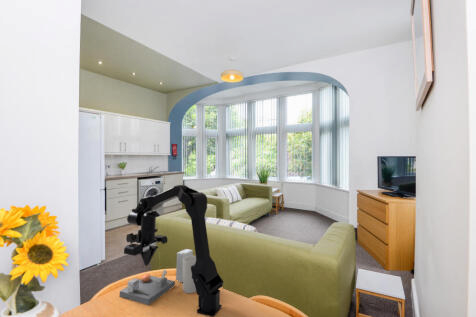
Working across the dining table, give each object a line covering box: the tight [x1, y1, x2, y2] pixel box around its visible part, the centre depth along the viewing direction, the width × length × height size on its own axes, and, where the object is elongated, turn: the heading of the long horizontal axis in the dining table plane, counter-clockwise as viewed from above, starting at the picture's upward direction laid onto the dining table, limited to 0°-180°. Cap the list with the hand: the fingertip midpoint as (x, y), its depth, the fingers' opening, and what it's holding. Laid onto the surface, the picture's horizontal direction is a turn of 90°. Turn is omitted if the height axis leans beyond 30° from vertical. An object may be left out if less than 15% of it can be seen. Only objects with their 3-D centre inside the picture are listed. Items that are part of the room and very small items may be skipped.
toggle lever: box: [159, 269, 168, 284], centre depth 87 cm, size 2×2×6 cm
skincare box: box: [175, 248, 194, 283], centre depth 97 cm, size 6×4×12 cm
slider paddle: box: [127, 278, 140, 293], centre depth 83 cm, size 2×3×4 cm
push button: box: [141, 274, 151, 282], centre depth 90 cm, size 3×3×2 cm
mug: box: [182, 255, 197, 294], centre depth 90 cm, size 10×7×12 cm, turn 175°
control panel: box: [119, 275, 176, 306], centre depth 86 cm, size 14×14×4 cm
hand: (146, 265), depth 91 cm, fingers closed
